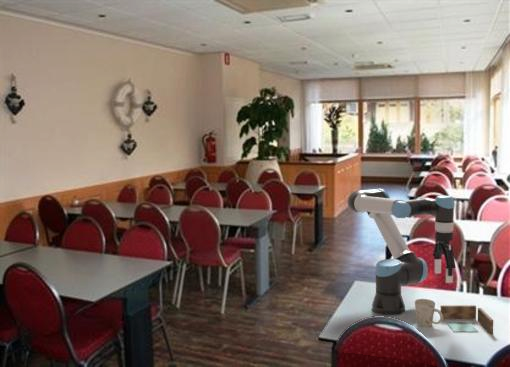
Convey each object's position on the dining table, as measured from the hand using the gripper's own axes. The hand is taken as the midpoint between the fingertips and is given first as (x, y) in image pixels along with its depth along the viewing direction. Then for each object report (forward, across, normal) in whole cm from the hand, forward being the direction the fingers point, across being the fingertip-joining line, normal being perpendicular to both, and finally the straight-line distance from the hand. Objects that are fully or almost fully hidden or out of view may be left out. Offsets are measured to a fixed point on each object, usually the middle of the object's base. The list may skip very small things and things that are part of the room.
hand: (443, 277), depth 217 cm
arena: (+19, -9, -7) cm, 22 cm away
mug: (+19, -7, +8) cm, 22 cm away
